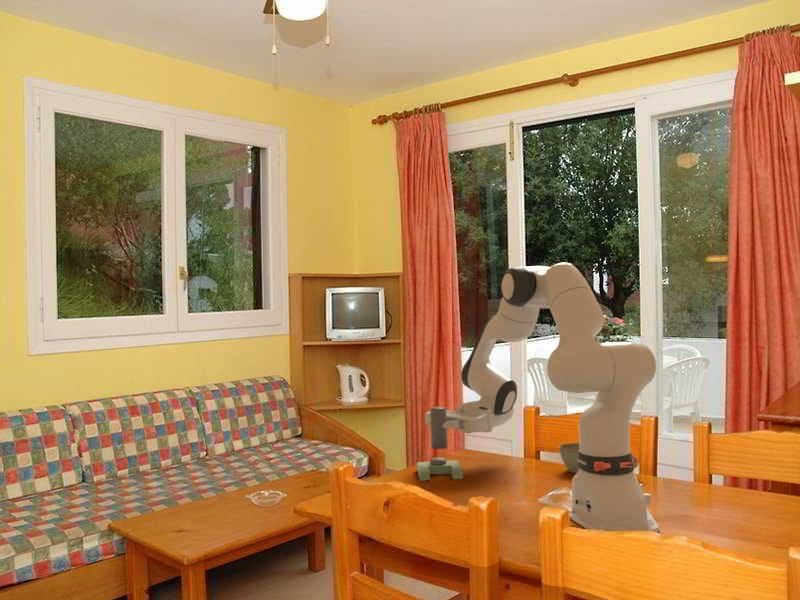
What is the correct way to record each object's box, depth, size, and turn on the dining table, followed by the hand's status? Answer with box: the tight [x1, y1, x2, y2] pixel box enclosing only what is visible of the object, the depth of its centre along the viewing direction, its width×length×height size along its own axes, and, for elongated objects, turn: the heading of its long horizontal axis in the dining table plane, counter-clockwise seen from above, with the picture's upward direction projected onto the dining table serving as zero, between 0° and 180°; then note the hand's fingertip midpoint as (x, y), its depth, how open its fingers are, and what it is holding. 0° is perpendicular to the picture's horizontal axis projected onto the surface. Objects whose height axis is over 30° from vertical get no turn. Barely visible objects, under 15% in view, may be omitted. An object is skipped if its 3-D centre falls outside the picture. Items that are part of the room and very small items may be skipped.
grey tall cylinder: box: [429, 406, 448, 450], centre depth 202 cm, size 4×4×11 cm
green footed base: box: [416, 456, 464, 482], centre depth 205 cm, size 12×12×4 cm
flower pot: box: [558, 442, 580, 474], centre depth 204 cm, size 10×10×7 cm
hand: (436, 424), depth 202 cm, fingers closed on grey tall cylinder, 4 cm apart
